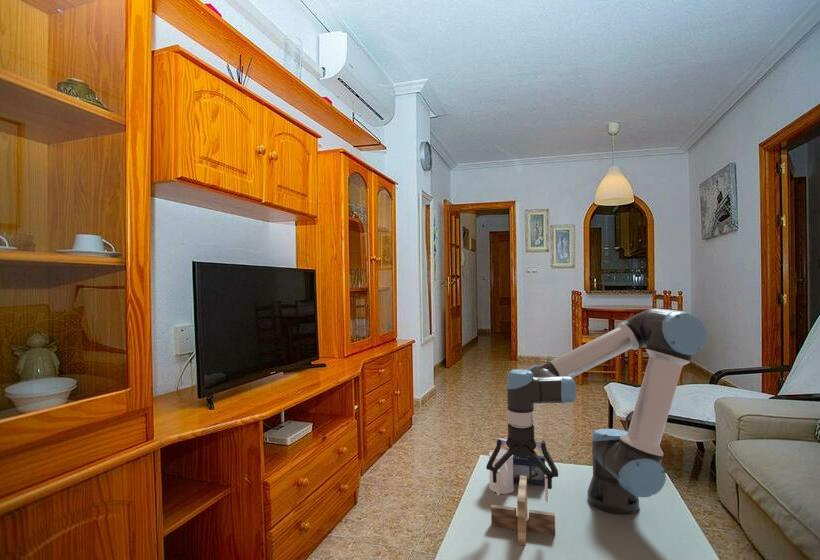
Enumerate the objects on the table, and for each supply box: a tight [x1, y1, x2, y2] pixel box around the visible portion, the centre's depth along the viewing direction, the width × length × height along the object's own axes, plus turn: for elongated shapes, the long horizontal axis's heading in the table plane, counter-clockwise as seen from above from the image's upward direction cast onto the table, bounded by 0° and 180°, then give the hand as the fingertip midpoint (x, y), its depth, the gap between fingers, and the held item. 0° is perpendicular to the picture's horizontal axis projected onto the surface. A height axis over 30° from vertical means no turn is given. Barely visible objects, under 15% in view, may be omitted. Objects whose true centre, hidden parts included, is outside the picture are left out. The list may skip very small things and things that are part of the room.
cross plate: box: [516, 475, 529, 546], centre depth 129 cm, size 16×2×12 cm, turn 163°
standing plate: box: [490, 504, 556, 536], centre depth 129 cm, size 18×2×6 cm, turn 73°
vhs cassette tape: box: [513, 454, 546, 488], centre depth 158 cm, size 18×3×10 cm, turn 72°
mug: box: [488, 449, 515, 495], centre depth 152 cm, size 12×8×12 cm
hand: (522, 496), depth 129 cm, fingers open, 13 cm apart
